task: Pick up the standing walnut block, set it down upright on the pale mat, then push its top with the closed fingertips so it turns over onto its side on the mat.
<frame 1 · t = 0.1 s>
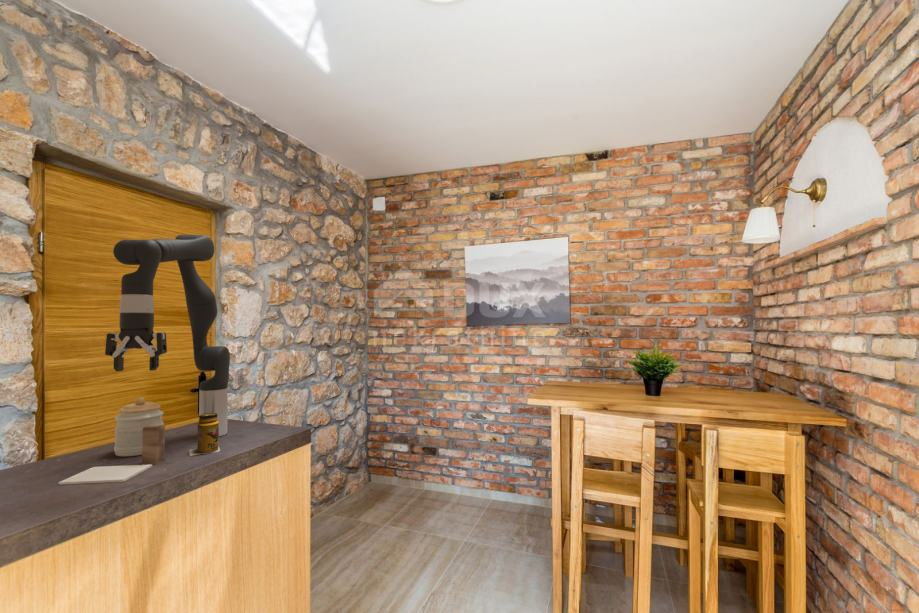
hand: (136, 370, 116), 29 cm above the counter, fingers open, 8 cm apart
block: (153, 462, 128), on the counter
mat: (108, 475, 117), on the counter
jar: (139, 451, 140), on the counter
condiment: (204, 451, 139), on the counter
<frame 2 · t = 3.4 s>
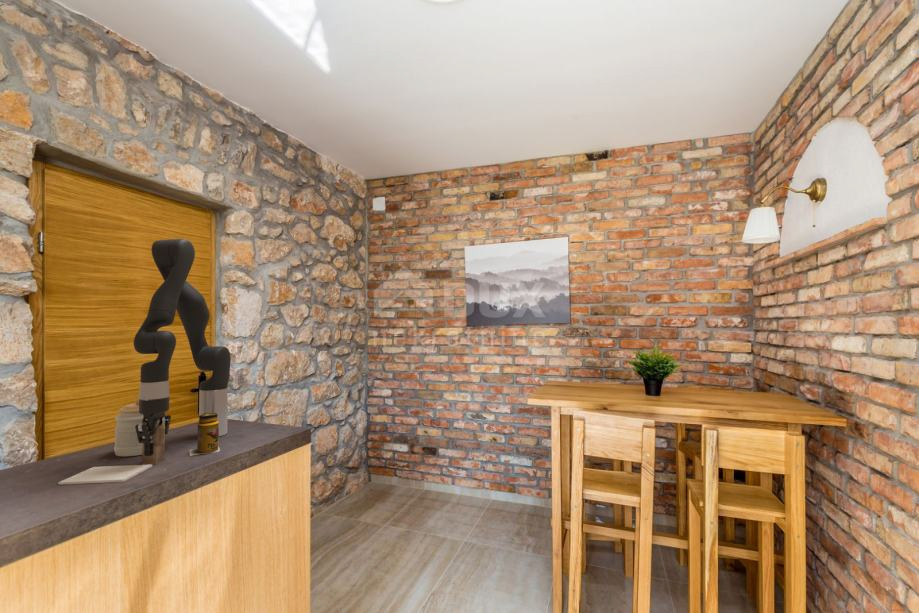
hand: (153, 453, 128), 3 cm above the counter, fingers closed on block, 4 cm apart
block: (153, 462, 128), on the counter, touching gripper
everything else where it was.
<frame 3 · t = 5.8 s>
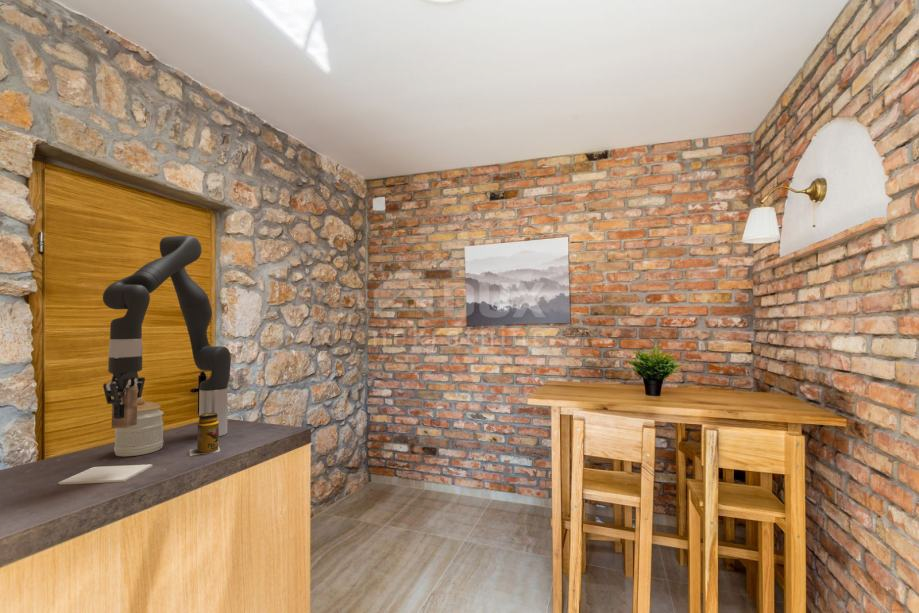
hand: (124, 416, 118), 16 cm above the counter, fingers closed on block, 4 cm apart
block: (124, 426, 118), point 13 cm above the counter, touching gripper
everything else where it was.
when the fingers open (4 cm above the counter, at t = 8.1 s): block drops 1 cm, resting on mat.
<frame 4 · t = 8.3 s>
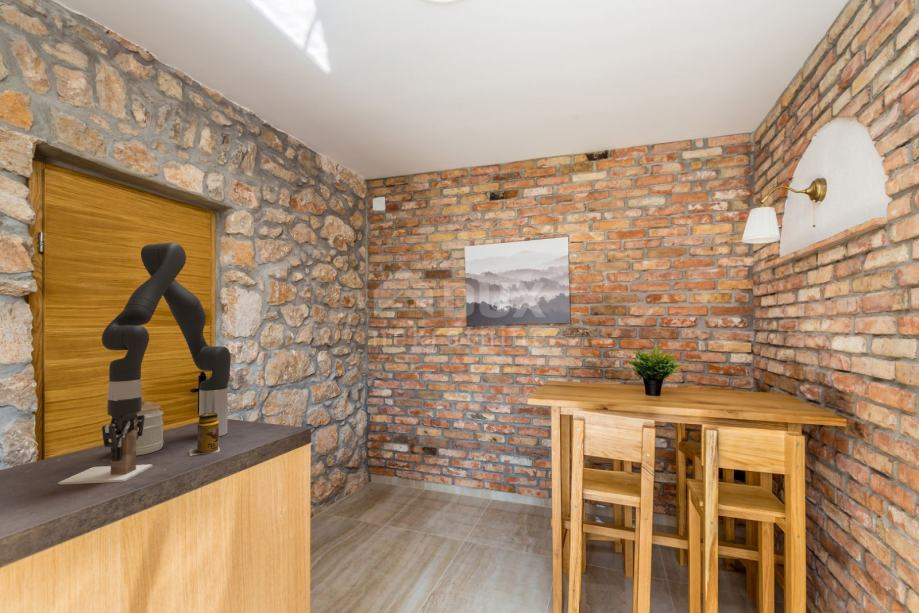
hand: (123, 457, 118), 5 cm above the counter, fingers open, 5 cm apart
block: (123, 472, 118), point 1 cm above the counter, touching mat
everything else where it was.
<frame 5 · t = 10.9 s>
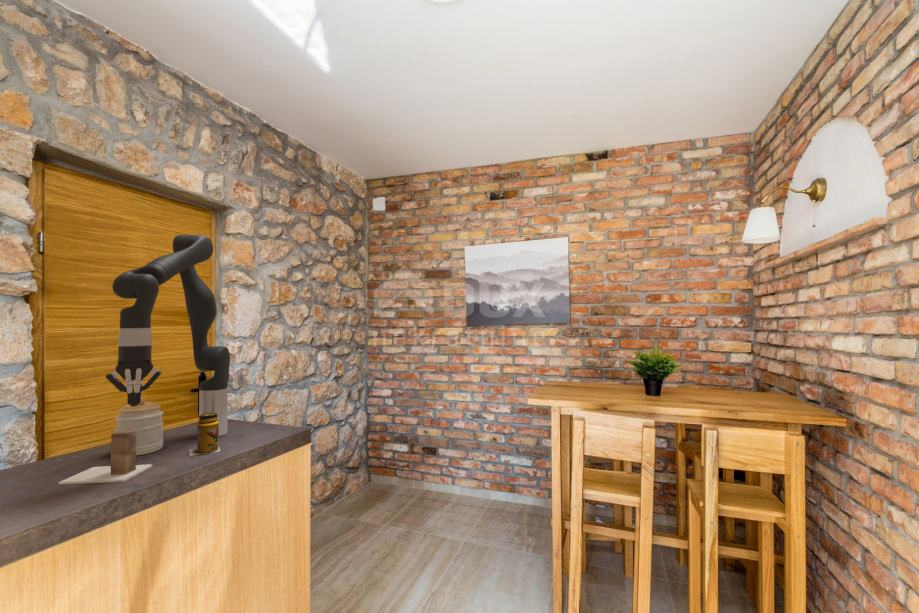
hand: (134, 405, 119), 19 cm above the counter, fingers closed
nothing on the counter moved.
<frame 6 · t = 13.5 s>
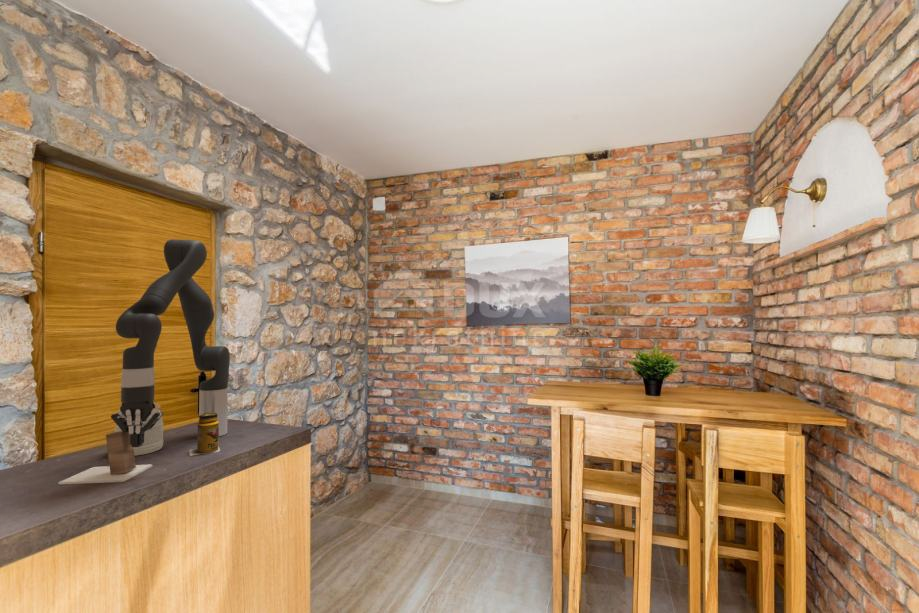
hand: (137, 446, 118), 8 cm above the counter, fingers closed
block: (123, 471, 118), point 1 cm above the counter, tilted 8°, touching mat
everything else where it was.
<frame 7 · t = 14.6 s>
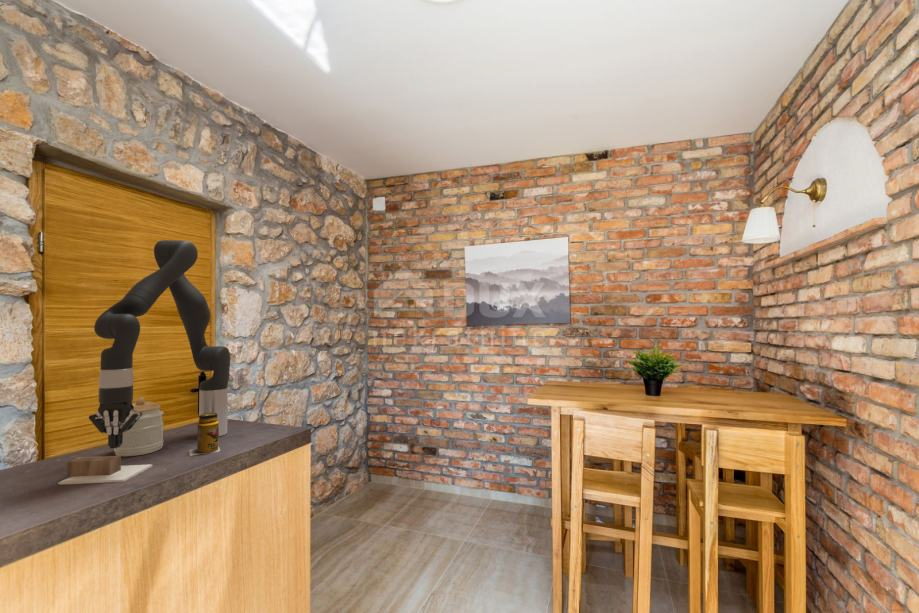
hand: (115, 447, 118), 8 cm above the counter, fingers closed
block: (115, 465, 118), point 3 cm above the counter, tilted 90°, touching mat
everything else where it was.
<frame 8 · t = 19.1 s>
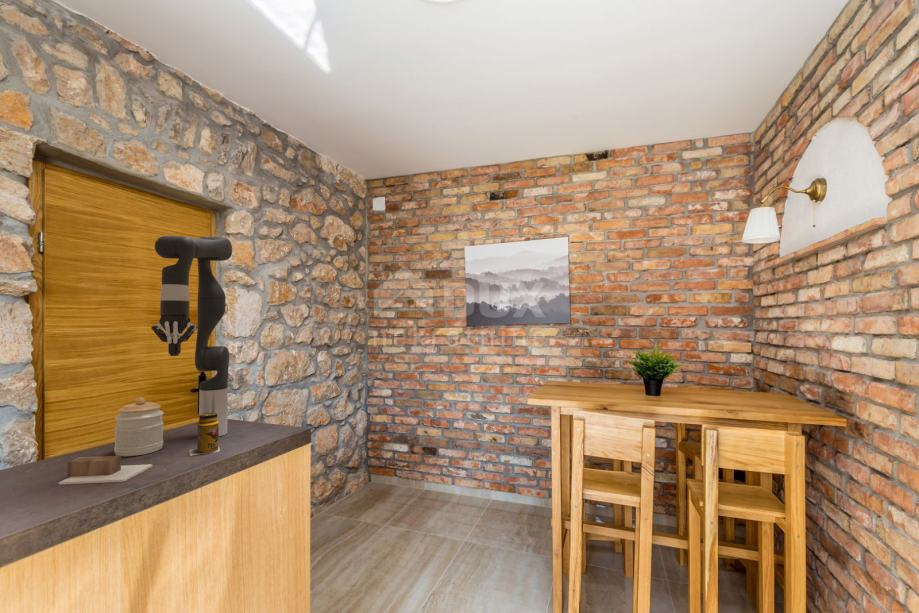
hand: (174, 355, 131), 32 cm above the counter, fingers closed
nothing on the counter moved.
at the end: block tilted 90°; block inside the target area (2.4 cm from its centre), point 2.6 cm above the counter; the gripper is holding nothing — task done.
